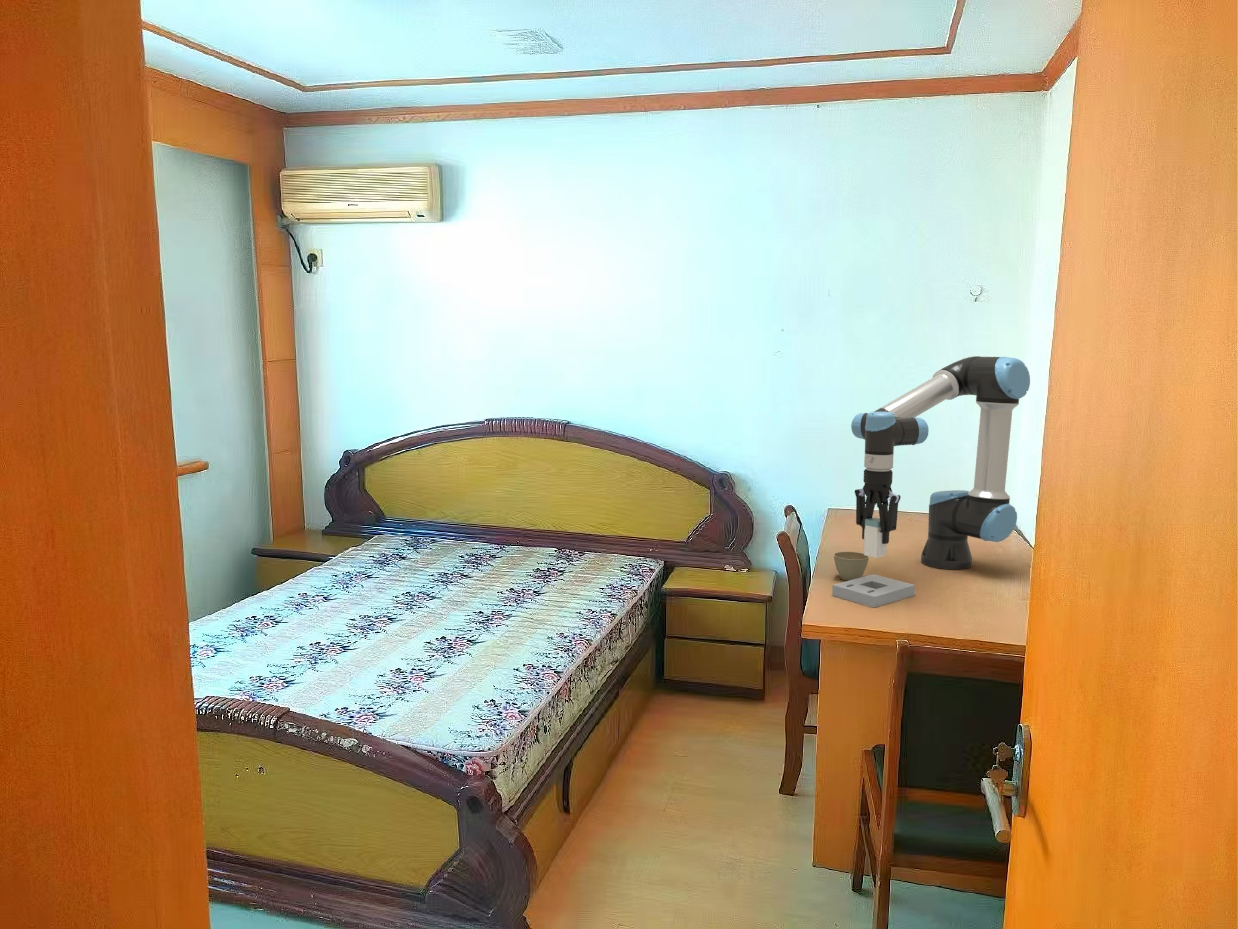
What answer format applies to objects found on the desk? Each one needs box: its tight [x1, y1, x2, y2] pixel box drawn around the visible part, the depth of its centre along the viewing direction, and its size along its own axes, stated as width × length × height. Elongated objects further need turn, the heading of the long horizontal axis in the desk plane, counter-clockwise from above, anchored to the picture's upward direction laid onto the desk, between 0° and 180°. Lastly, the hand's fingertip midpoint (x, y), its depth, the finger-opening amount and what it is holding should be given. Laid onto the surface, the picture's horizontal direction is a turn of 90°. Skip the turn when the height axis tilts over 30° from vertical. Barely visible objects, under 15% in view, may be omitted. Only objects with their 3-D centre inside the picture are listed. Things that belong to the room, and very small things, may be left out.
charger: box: [863, 517, 886, 559], centre depth 244 cm, size 4×4×10 cm
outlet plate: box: [831, 573, 916, 609], centre depth 246 cm, size 18×14×3 cm
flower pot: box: [833, 550, 870, 581], centre depth 262 cm, size 10×10×7 cm
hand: (874, 553), depth 244 cm, fingers closed on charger, 4 cm apart
